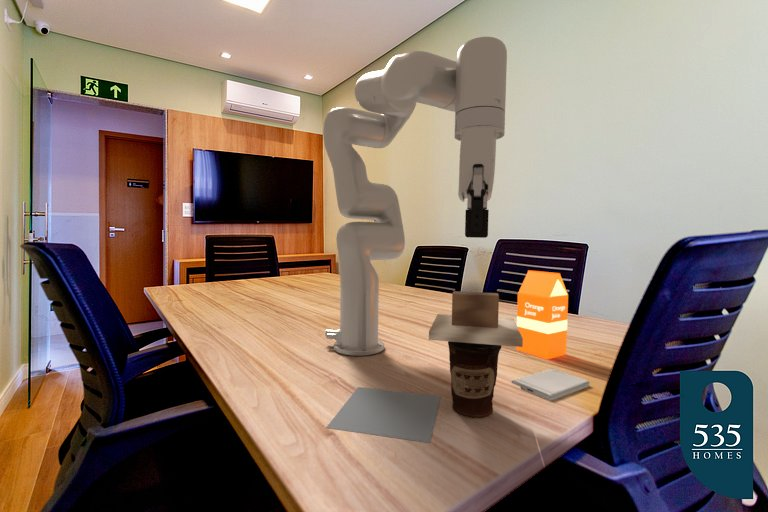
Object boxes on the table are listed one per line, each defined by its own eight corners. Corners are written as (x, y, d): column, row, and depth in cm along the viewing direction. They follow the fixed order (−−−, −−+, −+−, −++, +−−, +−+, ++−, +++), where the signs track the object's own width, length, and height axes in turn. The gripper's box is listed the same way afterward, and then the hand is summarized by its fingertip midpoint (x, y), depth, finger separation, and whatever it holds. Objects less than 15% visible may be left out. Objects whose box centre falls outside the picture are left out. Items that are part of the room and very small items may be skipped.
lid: (428, 339, 54) (429, 297, 54) (437, 320, 67) (438, 286, 66) (522, 347, 51) (524, 302, 51) (513, 325, 63) (514, 289, 63)
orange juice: (547, 359, 85) (550, 273, 84) (515, 349, 93) (517, 270, 92) (566, 354, 90) (569, 272, 89) (534, 345, 97) (537, 269, 96)
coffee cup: (502, 428, 54) (505, 341, 54) (445, 422, 56) (447, 337, 55) (496, 402, 63) (499, 327, 62) (447, 397, 64) (449, 324, 64)
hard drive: (550, 367, 77) (511, 379, 70) (589, 380, 70) (550, 394, 64) (550, 375, 77) (511, 387, 71) (589, 389, 70) (550, 403, 64)
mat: (326, 430, 53) (326, 427, 53) (358, 389, 68) (358, 386, 68) (429, 445, 49) (429, 442, 49) (440, 398, 64) (440, 396, 64)
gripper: (457, 142, 66) (455, 237, 67) (451, 110, 50) (448, 237, 51) (501, 140, 64) (498, 237, 65) (509, 106, 48) (505, 237, 49)
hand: (476, 237), depth 58 cm, fingers open, 9 cm apart
